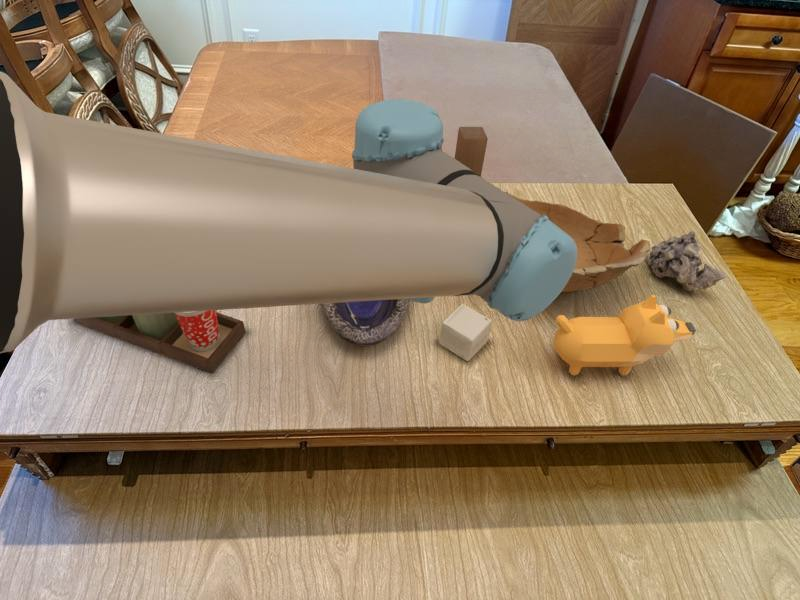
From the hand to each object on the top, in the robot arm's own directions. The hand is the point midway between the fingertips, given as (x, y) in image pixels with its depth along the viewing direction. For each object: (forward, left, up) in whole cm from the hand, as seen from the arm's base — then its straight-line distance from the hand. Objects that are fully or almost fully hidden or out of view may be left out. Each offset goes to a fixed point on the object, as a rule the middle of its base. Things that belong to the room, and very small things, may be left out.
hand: (141, 185), depth 62 cm
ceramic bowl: (+57, -20, -27) cm, 66 cm away
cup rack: (-3, +5, -27) cm, 27 cm away
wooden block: (+54, +1, -27) cm, 60 cm away
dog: (+48, -41, -27) cm, 68 cm away
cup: (-3, +5, -27) cm, 27 cm away
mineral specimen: (+75, -36, -27) cm, 87 cm away
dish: (+28, -6, -27) cm, 39 cm away
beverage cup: (+1, -2, -26) cm, 26 cm away
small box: (+33, -25, -27) cm, 49 cm away
